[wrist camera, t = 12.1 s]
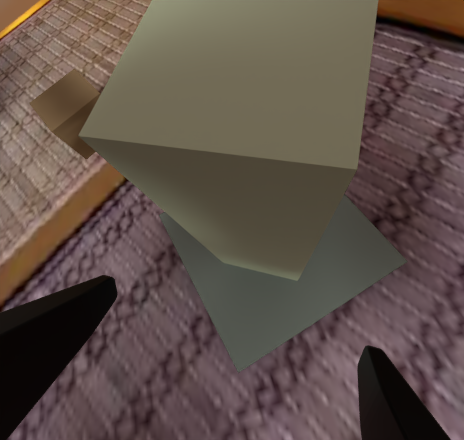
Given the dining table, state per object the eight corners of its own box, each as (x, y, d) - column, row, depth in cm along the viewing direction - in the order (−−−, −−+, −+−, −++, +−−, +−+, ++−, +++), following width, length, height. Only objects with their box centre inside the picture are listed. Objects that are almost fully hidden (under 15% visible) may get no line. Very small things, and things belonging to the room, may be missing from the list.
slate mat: (239, 370, 15) (238, 372, 14) (162, 217, 19) (158, 215, 19) (402, 263, 15) (407, 261, 15) (288, 139, 20) (288, 134, 19)
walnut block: (87, 160, 23) (51, 131, 20) (65, 133, 25) (29, 103, 22) (127, 126, 24) (100, 93, 20) (103, 103, 26) (74, 68, 22)
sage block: (223, 262, 17) (77, 135, 5) (241, 197, 18) (165, -25, 6) (297, 280, 15) (356, 169, 3) (310, 208, 17) (383, -44, 5)
